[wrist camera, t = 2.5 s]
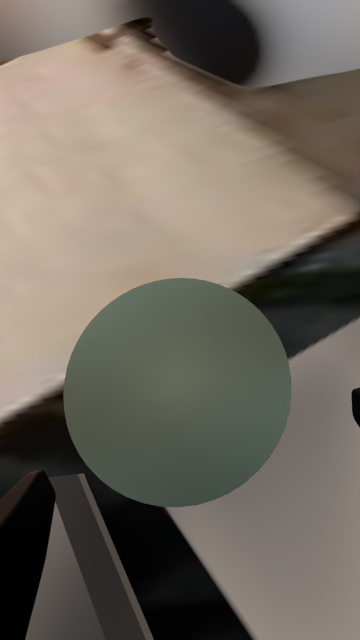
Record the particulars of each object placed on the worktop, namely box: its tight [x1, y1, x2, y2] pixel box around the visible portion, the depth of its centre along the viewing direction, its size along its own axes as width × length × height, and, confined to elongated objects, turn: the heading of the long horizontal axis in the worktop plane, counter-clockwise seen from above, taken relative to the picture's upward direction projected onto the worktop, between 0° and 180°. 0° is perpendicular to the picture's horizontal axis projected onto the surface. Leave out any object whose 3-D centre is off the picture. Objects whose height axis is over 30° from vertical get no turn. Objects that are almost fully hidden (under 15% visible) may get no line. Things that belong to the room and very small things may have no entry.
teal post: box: [64, 278, 291, 507], centre depth 11 cm, size 4×4×13 cm
